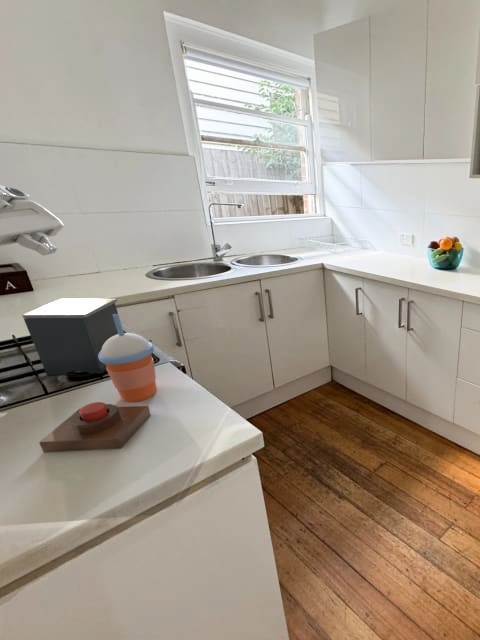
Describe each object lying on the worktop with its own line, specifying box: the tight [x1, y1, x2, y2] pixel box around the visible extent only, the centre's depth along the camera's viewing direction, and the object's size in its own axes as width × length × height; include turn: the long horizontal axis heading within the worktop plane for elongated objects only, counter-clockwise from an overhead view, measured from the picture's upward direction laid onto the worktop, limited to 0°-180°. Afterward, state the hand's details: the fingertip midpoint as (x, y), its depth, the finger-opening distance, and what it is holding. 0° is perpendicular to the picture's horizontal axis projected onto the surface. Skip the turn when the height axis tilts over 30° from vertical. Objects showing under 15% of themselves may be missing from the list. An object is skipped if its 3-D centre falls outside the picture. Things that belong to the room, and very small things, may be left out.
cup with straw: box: [98, 313, 158, 403], centre depth 77 cm, size 9×9×18 cm
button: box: [78, 401, 108, 421], centre depth 67 cm, size 4×4×2 cm
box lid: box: [21, 298, 118, 319], centre depth 87 cm, size 12×12×1 cm
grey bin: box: [23, 302, 119, 376], centre depth 90 cm, size 12×12×14 cm
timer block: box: [38, 403, 151, 453], centre depth 68 cm, size 12×10×4 cm
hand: (51, 252), depth 82 cm, fingers closed
